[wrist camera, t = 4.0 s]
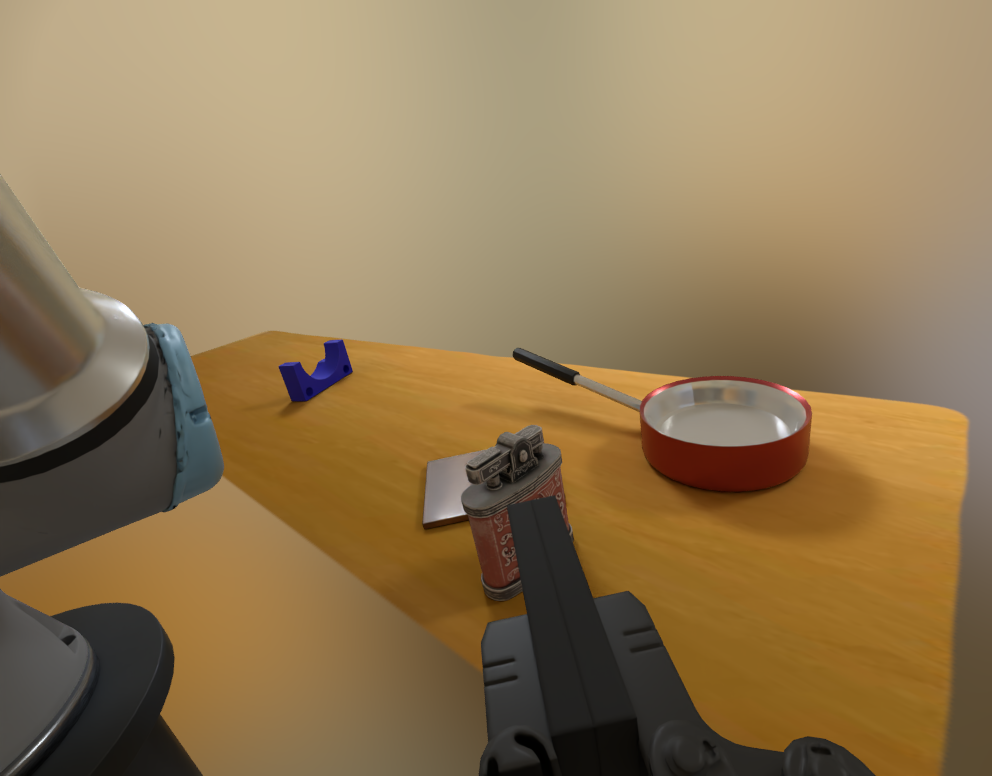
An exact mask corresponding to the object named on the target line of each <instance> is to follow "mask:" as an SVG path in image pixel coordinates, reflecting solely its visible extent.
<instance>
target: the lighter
mask: <svg viewBox="0 0 992 776" xmlns="http://www.w3.org/2000/svg"><path fill="white" fill-rule="evenodd" d="M543 442H544V439H543V433H542V428H541V427H540V426H537V425H530V426H527V427H525V428H524V429H522V430H521V431H519V432H517V433H516V434H512V433H509V432H505V433H503V434H501V435H500V436H499V438H498V440H497V444H496V445H495V447H491V448H489V449H487V450H486V451H484V452H483V453H481V454H479V455H478V456H476V457H474V458H473V459H471V460H470V461H468V462H467V464H466V465H465V469H466V474H467V478H468V482H470V483H471V485H470V486H469V487H468V488H467V489H466V490H464V492H463V493H462V494H461V502H462V505H463V509H464V512H465V513H466V514H467V515H468V517H469V521H470V525H471V529H472V533H473V537H474V541H475V545H476V549H477V553H478V557H479V561H480V565H481V569H482V575H481V581H482V584H483V588H484V591H485V594H486V595H487V596H488V597H490V598H491V599H493V600H498V601H504V600H508V599H511V598H513V597H514V596H516V595H517V594H519V593H520V592H522V591H523V589H522V584H521V579H520V574H519V568H518V563H517V558H516V553H515V548H514V542H513V537H512V532H511V527H510V522H509V516H508V511H507V506H506V505H511V504H516V503H520V502H525V501H530V500H534V499H539V498H544V497H548V496H553V495H555V496H556V499H557V502H558V504H559V507H560V510H561V513H562V515H563V518H564V521H565V523H566V526H567V529H568V532H569V534H570V537H571V540H572V542H573V540H574V539H573V532H572V527H571V525H570V524H569V523H568V516H567V509H566V503H565V496H564V489H563V483H562V476H561V469H560V466H561V464H562V458H561V451H560V449H559V448H558V447H556V446H554V445H551V444H542V443H543Z"/></svg>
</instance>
